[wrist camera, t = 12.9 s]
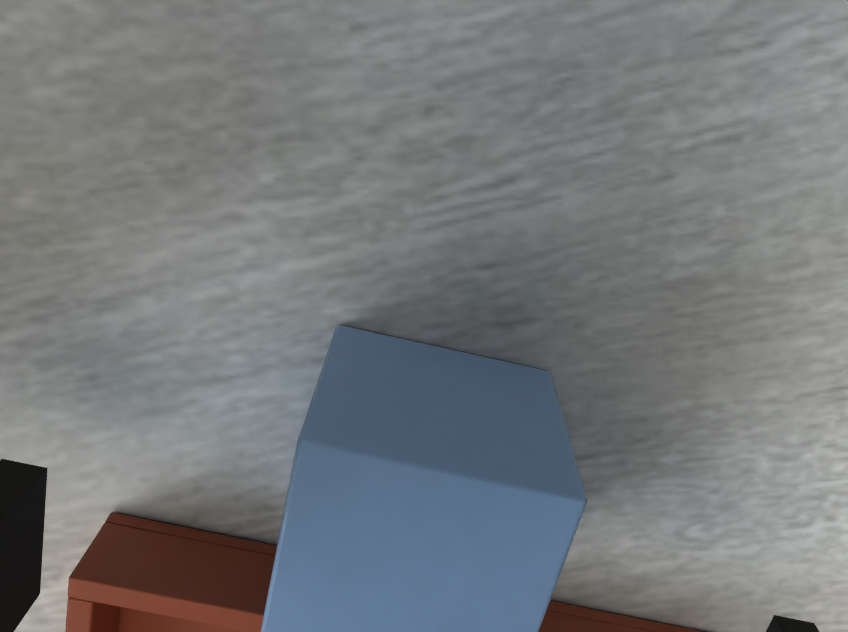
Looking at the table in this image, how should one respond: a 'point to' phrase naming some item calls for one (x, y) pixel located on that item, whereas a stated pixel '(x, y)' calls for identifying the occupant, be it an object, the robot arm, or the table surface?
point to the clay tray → (218, 585)
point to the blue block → (424, 494)
